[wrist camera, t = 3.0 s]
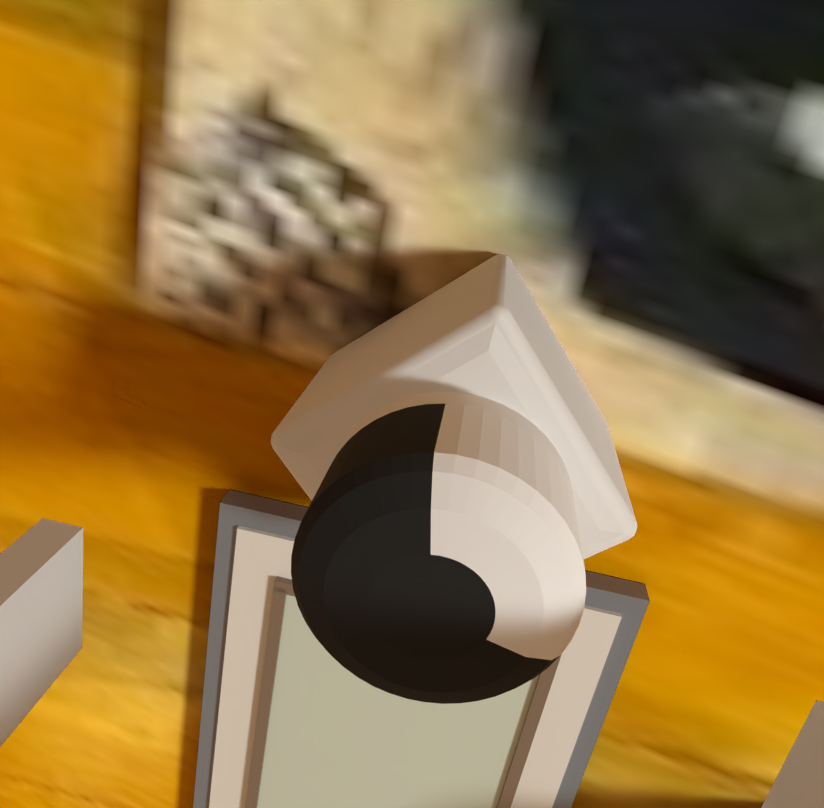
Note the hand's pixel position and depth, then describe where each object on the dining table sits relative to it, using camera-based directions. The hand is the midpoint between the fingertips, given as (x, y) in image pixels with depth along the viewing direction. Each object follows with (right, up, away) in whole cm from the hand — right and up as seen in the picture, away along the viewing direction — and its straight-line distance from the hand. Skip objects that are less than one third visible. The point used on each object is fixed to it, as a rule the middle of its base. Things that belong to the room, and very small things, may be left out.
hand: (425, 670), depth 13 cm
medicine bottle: (+2, +5, +12) cm, 14 cm away
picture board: (-1, -9, +18) cm, 21 cm away
